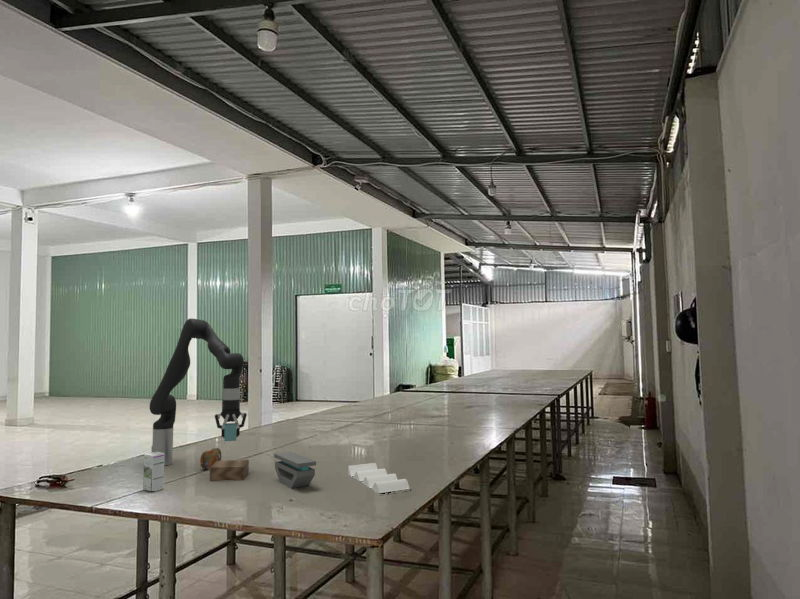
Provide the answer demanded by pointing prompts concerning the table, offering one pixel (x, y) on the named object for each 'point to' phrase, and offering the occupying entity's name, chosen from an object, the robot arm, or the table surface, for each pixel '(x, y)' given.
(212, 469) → the walnut block
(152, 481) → the syrup box
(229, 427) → the teal block
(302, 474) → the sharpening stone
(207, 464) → the tin
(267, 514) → the table surface
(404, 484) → the white corrugated sheet
